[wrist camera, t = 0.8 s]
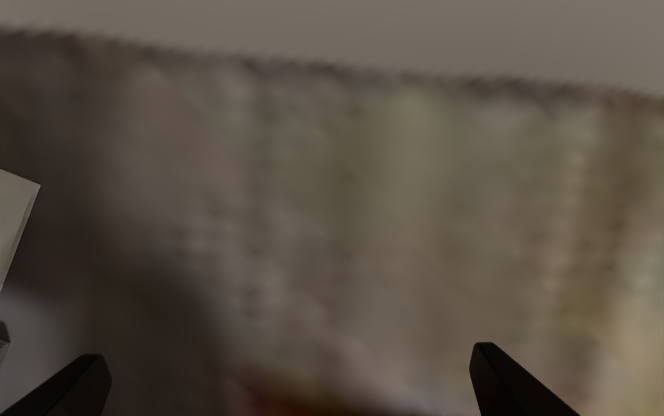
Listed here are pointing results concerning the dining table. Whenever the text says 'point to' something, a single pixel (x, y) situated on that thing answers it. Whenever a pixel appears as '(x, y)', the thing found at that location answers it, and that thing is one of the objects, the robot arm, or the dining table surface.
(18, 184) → the tray
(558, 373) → the dining table surface
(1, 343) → the lever stand
